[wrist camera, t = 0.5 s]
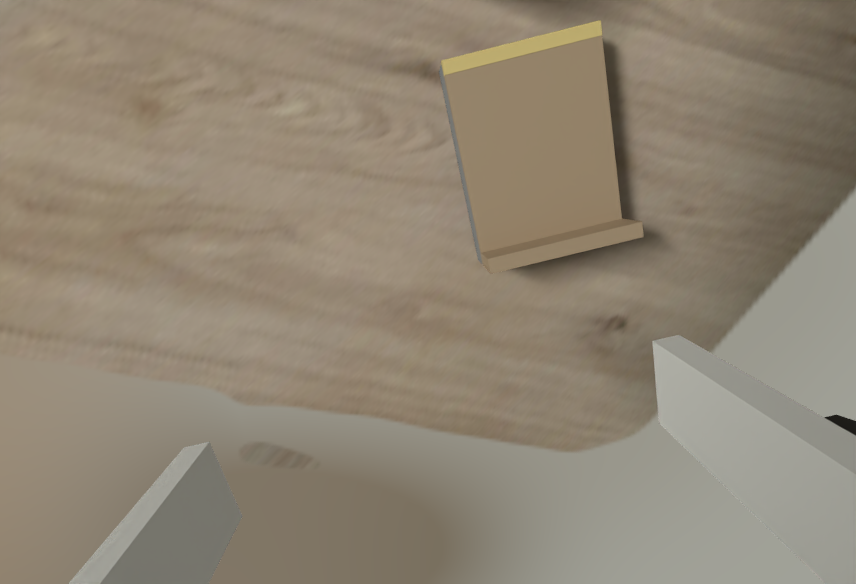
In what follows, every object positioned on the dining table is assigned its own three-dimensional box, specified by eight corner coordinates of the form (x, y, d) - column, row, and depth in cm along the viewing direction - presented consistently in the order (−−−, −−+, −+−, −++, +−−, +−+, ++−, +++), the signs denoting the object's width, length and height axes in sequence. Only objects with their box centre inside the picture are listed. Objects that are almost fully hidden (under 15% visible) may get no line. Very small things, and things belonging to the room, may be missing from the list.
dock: (438, 71, 32) (445, 47, 27) (583, 35, 32) (621, 1, 26) (478, 260, 37) (490, 273, 31) (606, 228, 36) (643, 237, 31)
